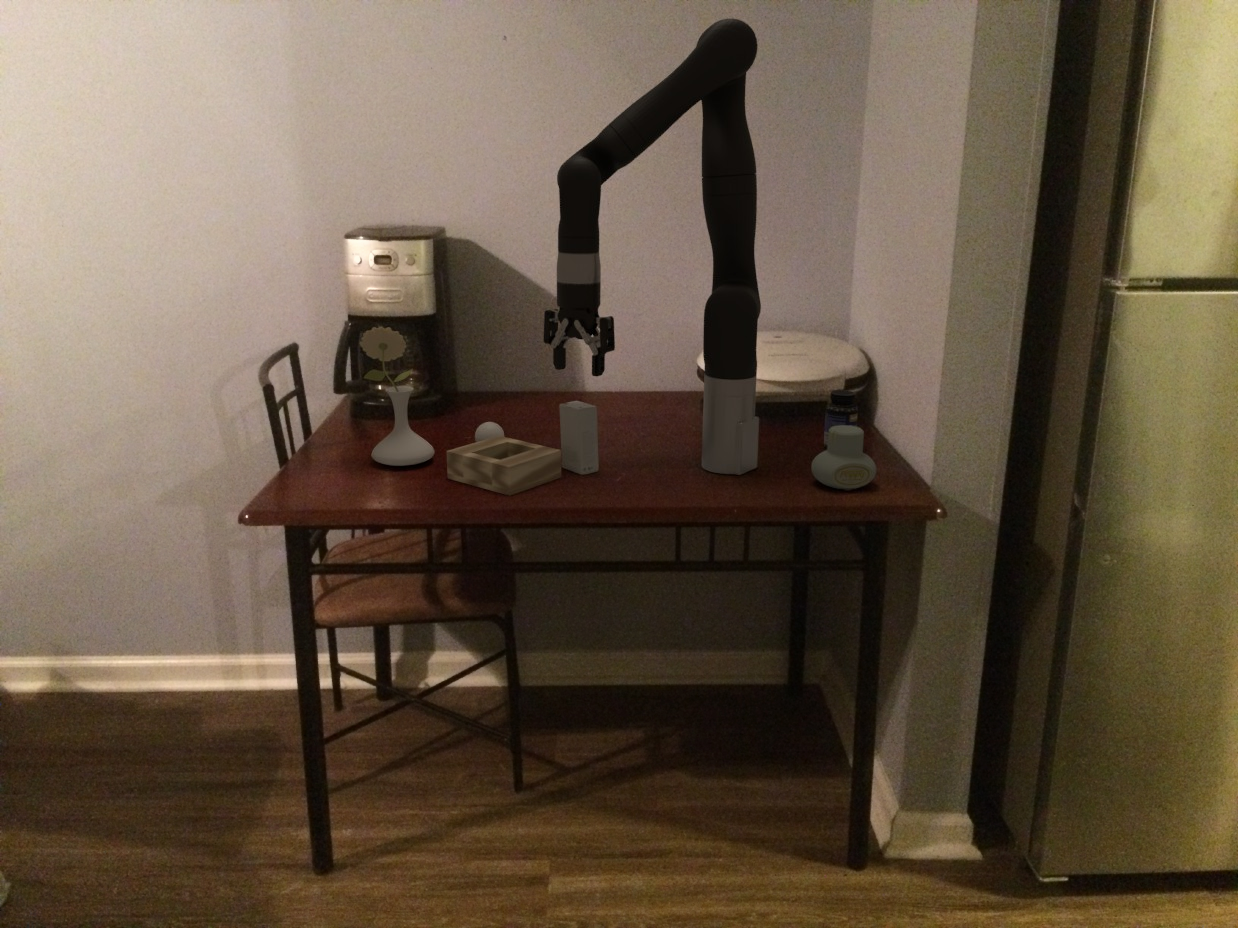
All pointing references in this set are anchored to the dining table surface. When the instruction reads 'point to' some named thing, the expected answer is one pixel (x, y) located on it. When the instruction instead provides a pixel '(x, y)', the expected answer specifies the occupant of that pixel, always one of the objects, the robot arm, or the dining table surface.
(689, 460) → the dining table surface
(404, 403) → the flower in vase
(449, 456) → the caddy
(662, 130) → the robot arm
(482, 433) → the white egg
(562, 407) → the skincare box
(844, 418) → the pill bottle
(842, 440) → the air freshener
